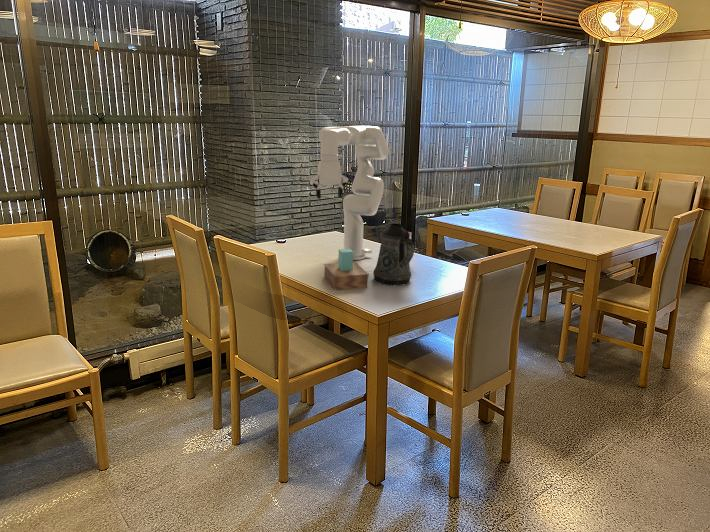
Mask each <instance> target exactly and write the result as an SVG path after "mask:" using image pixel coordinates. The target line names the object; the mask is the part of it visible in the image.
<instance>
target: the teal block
mask: <svg viewBox="0 0 710 532" xmlns="http://www.w3.org/2000/svg"><path fill="white" fill-rule="evenodd" d="M353 262H354V260H353V251H352V250H351V249H344V248H341V249H338V262H337V263H338V268H339V269H340V270H341V271H347V270H353Z"/></svg>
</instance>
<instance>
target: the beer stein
mask: <svg viewBox="0 0 710 532" xmlns="http://www.w3.org/2000/svg"><path fill="white" fill-rule="evenodd" d="M409 232H410V231H408V230H405V229H404V228H403V226H402V223H401V224H400V223H391V224H389V226H388V227H387V228H385V229H384V230H382V231H381V233H380V234H379V235H380V236H379V237H380V239H381V243H380V247H379V253H378V256H377V257H378V258H377V262H376V266H375V268H374V269H373V271H372V272H373V273H372V274H373V277H374V278H373V280H374V281H375V282H376V283H377V282H378V284H380V283H381V285H384V284H385V285H386V286H393V285H397V286H404V285H407V284H408V282H409V283H410V281H411V277H412V272H411V269H410V263H409V262H411V260H412V259H413V257H414V253H415V245H414V242H413V241H412V240H413V239H412V238H411V239H410V238H409V237H410V235H409ZM403 284H404V285H403Z"/></svg>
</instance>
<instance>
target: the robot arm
mask: <svg viewBox="0 0 710 532" xmlns="http://www.w3.org/2000/svg"><path fill="white" fill-rule="evenodd" d="M318 139H319V142H320V160H319V161H318V166H317V174H316V175H315V176H313V177H311V178H310V179H309V181H310V183H311V185H312V186H313V188H314V189H315V196H316V198H317V199H318V200H319V199H321V198H322V197H321V187H322V186H336V185H337V186H338V188H337V197H338V198H341V199H342V198H343V197H342V196H343V190H344V188H345V186H346V185H347V183H348V182H349V179H350V178H349V177H347V176H345V175H343V174H342V169H341V163H340V161H339V160H340V159H342V155H340V154H339V147H340V146H354V145H356V146H355V157H356V162H357V170H356V171H355V172H356V173H355V176H354V179H353V181H352V185H351V190H352V194H351V193H350V194H347V195H346V196H344V198H343V200H342V209H343V221H344V222H343V223H344V224H343V228H344V229H343V249H351V250H352V251H353V261H359V260H365V258H366V254H372V253H373V250H372V249H368V248H364V247H363V245H364V220H363V218H362V216H368V217H369V216H375V215H376V214H377V212H378V209H379V206H380V203H381V201H382V200H381V199H382V198H383V195H384V189H385V183H384V180H383V179H382V178H380V177H376V176H374V175H375V168H374V166H373V164H372V163H371V161H370V160H379V161H381V160H383V161H384V160H386V159H387V158H388V156H389V153H390V149H389V145H388V142H387V139H386V136H385V135H384V133H383V130H382V129H381V128H380V127H379V126H374V125H350V126H349V125H348V126H347V125H346V126H328V127H327V126H324V127H322V128H321V129H320V130H319V132H318ZM342 180H343V182H342ZM315 181H316V182H315Z"/></svg>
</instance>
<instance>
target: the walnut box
mask: <svg viewBox="0 0 710 532" xmlns="http://www.w3.org/2000/svg"><path fill="white" fill-rule="evenodd" d="M323 266H324V278H325V279H326V280H328V281H327V283H329V284H330V285H332V286H333V287H332V286H331V287H332V288H333V289H334V290H335V289H341V290H353V288H356V289H368V284H369V282H368V280H369V276H370V274H369V273H368V272H367V271H366V270H365V269H364V268H363V267H362V266H361V265H360V264H359V263H358V262H356V261H353V270H347V271H341V270H340V269H339V268H338V262H335V263H334V262H333V263H331V262H330V263H324V264H323Z"/></svg>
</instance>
